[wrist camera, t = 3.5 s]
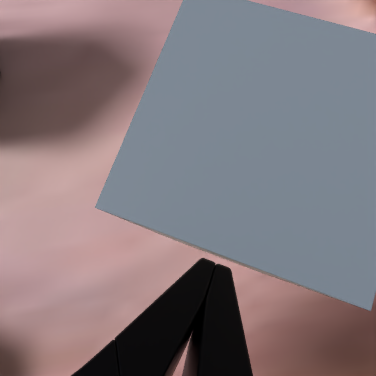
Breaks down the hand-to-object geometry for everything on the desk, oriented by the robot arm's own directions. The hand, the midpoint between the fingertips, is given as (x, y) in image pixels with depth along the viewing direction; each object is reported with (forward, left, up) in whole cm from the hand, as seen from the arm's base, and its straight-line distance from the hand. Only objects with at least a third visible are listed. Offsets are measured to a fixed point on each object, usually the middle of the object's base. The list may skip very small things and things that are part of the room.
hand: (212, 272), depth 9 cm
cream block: (+3, +1, -8) cm, 9 cm away
